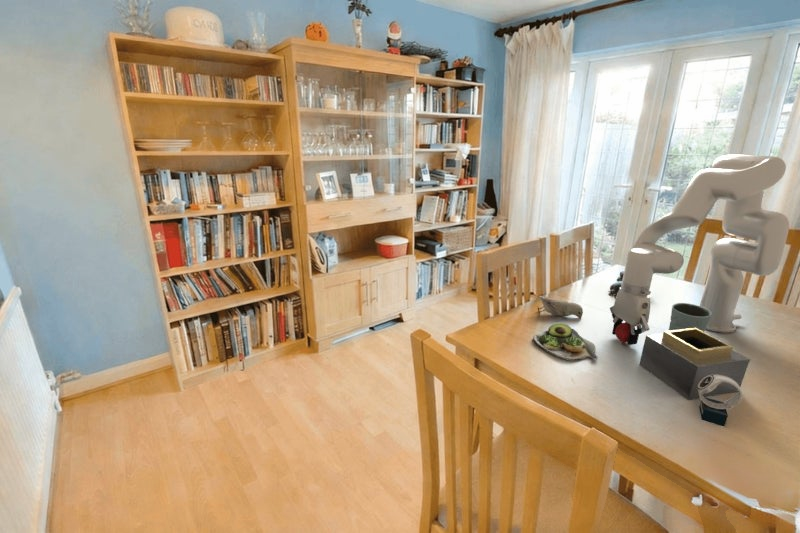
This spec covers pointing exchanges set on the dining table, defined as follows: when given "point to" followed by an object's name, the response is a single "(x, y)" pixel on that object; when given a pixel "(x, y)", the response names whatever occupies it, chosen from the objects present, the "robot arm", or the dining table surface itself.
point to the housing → (692, 361)
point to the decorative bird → (560, 307)
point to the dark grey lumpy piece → (617, 284)
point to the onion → (623, 332)
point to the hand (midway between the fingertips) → (624, 338)
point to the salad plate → (565, 342)
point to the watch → (713, 408)
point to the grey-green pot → (689, 317)
